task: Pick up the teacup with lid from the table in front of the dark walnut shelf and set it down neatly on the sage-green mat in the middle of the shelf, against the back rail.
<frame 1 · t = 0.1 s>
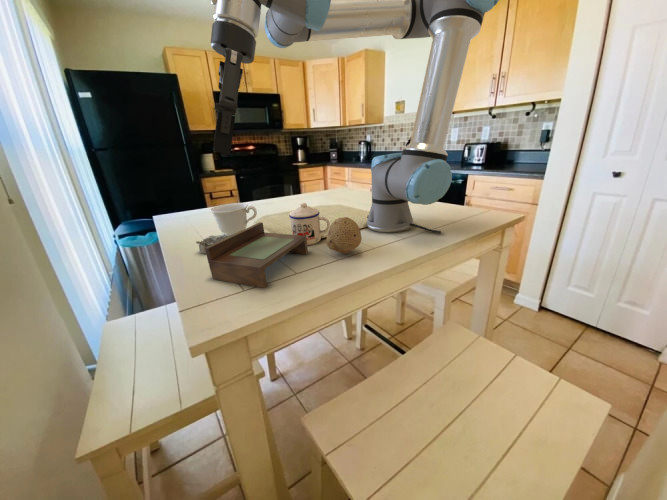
hand: (220, 152, 54), 28 cm above the table, tool tilted 20°, fingers open, 13 cm apart
teacup with lid: (311, 241, 84), on the table
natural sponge: (345, 254, 73), on the table
egg carton: (220, 249, 83), on the table
teacup: (239, 235, 94), on the table
shelf: (264, 264, 70), on the table
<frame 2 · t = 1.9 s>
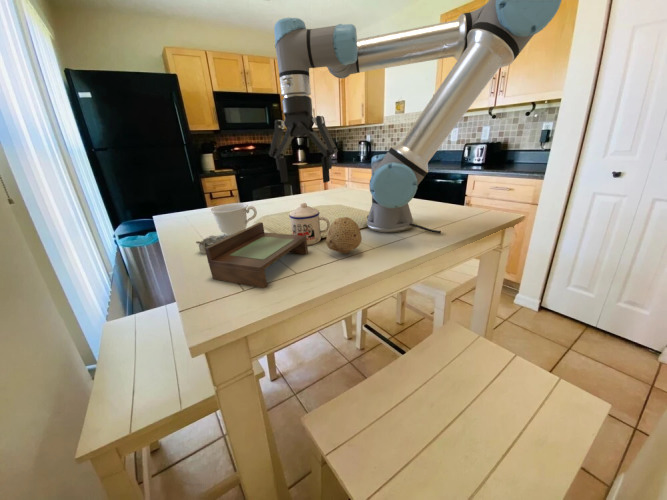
hand: (305, 181, 77), 18 cm above the table, tool pointing down, fingers open, 13 cm apart
nothing on the table moved.
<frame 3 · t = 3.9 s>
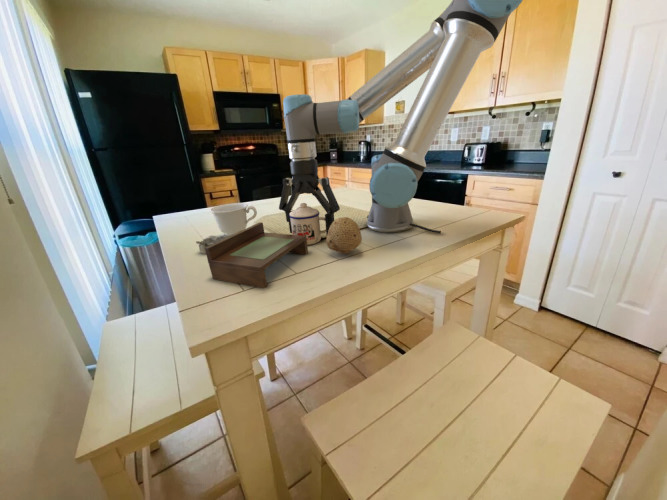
hand: (310, 233, 83), 2 cm above the table, tool pointing down, fingers closed on teacup with lid, 12 cm apart
teacup with lid: (311, 241, 84), on the table, touching gripper
everything else where it was.
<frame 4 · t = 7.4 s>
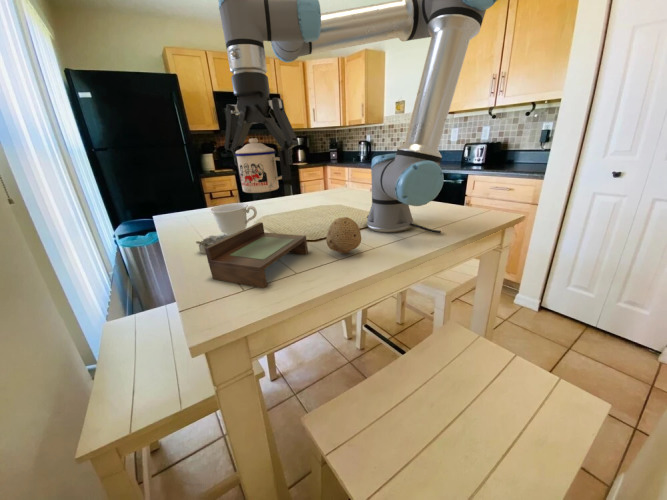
hand: (265, 179, 65), 21 cm above the table, tool pointing down, fingers closed on teacup with lid, 12 cm apart
teacup with lid: (266, 190, 66), point 18 cm above the table, touching gripper
everything else where it was.
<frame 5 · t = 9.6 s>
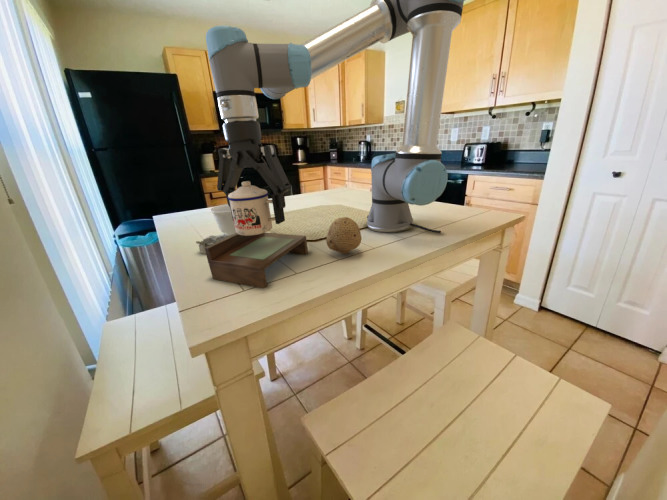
hand: (258, 220, 65), 12 cm above the table, tool pointing down, fingers closed on teacup with lid, 12 cm apart
teacup with lid: (260, 230, 66), point 9 cm above the table, touching gripper
everything else where it was.
when the fingers open (7 cm above the table, at t = 11.3 s): teacup with lid stays where it is, resting on shelf.
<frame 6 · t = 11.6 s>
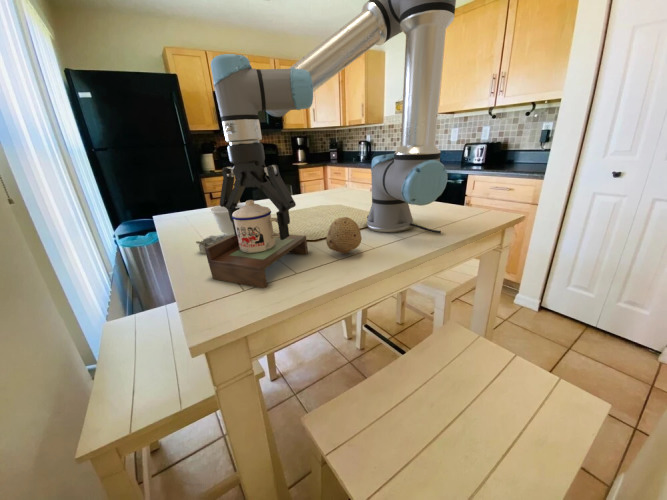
hand: (261, 236, 66), 8 cm above the table, tool pointing down, fingers open, 13 cm apart
teacup with lid: (263, 247, 68), point 5 cm above the table, touching shelf
everything else where it was.
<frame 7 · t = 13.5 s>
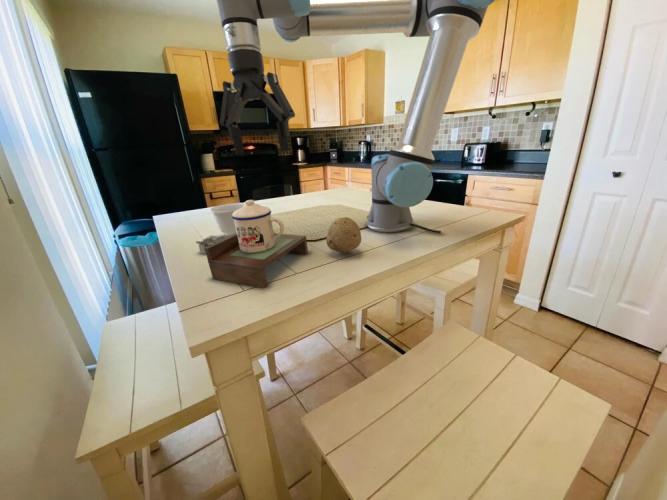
hand: (261, 153, 69), 27 cm above the table, tool pointing down, fingers open, 13 cm apart
nothing on the table moved.
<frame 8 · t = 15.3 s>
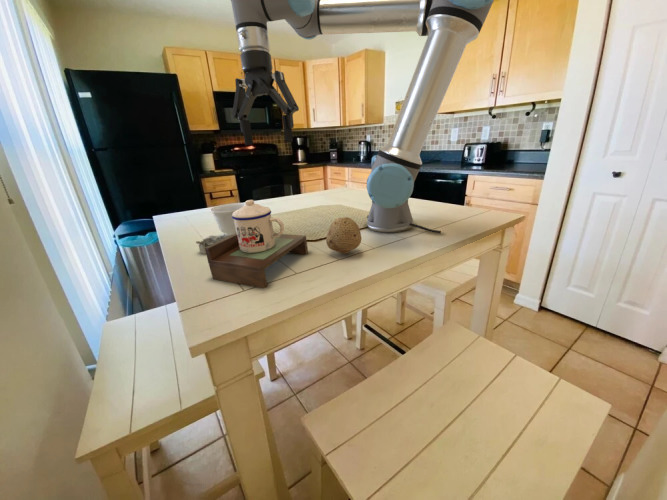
hand: (268, 143, 76), 29 cm above the table, tool pointing down, fingers open, 13 cm apart
nothing on the table moved.
at the end: teacup with lid inside the target area on the shelf (0.3 cm from its centre), point 4.9 cm above the shelf's base; teacup with lid tilted 0°; the gripper is holding nothing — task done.
